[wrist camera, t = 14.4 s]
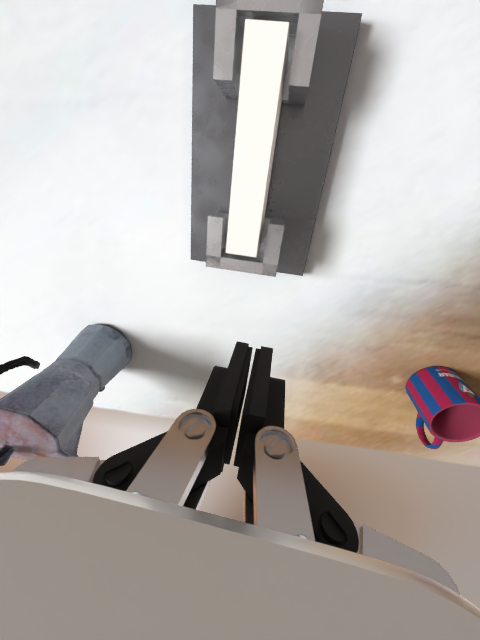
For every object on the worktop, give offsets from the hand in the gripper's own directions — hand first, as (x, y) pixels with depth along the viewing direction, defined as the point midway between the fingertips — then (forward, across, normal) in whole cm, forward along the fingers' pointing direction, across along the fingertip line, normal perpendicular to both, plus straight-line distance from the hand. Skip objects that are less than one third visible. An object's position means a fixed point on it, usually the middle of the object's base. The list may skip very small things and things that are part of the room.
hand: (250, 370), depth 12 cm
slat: (+20, +3, -9) cm, 23 cm away
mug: (+23, -25, +16) cm, 38 cm away
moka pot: (+22, +25, +19) cm, 39 cm away
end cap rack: (+22, +4, -9) cm, 25 cm away
